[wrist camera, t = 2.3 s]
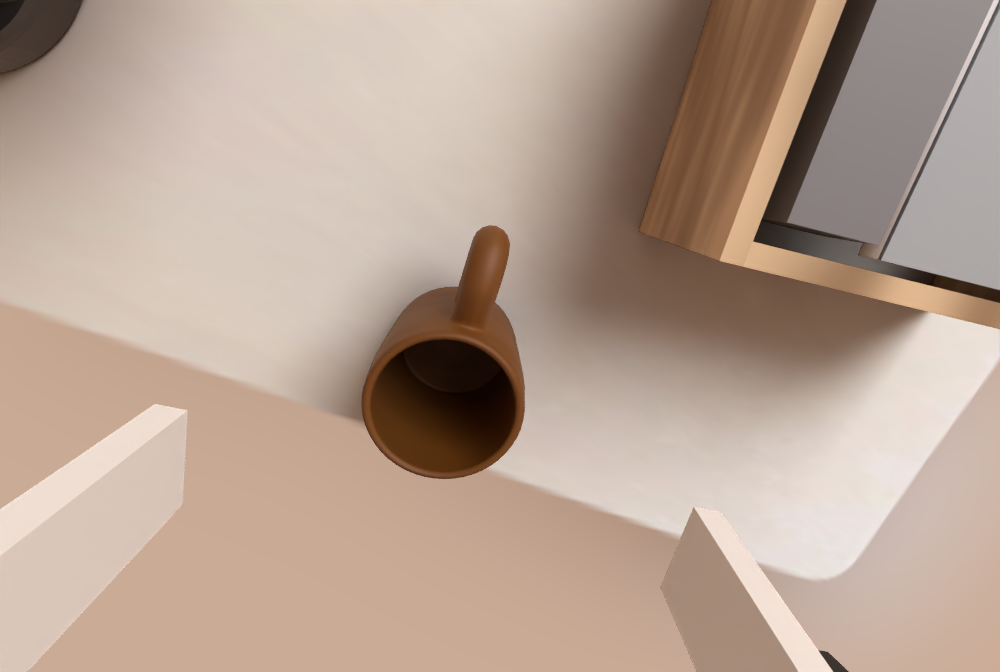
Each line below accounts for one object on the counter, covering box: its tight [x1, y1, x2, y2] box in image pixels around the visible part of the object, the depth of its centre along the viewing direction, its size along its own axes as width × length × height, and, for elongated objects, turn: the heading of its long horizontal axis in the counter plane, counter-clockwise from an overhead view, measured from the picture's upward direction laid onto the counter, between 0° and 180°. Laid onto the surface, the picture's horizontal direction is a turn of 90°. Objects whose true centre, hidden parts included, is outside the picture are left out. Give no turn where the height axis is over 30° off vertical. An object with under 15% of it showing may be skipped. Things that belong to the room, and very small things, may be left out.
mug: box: [362, 226, 525, 479], centre depth 26 cm, size 12×8×9 cm, turn 163°
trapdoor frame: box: [639, 0, 1000, 329], centre depth 22 cm, size 20×18×10 cm
